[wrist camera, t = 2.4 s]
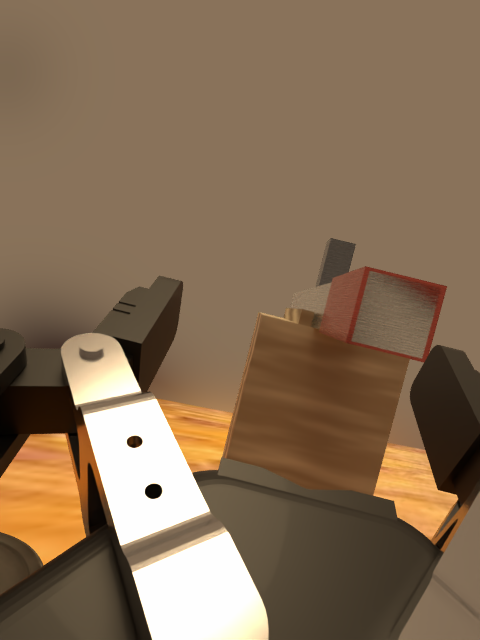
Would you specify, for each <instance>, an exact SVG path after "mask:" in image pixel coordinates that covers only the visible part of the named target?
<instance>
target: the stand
mask: <svg viewBox="0 0 480 640" xmlns="http://www.w3.org/2000/svg"><path fill="white" fill-rule="evenodd" d="M314 313H315V312H312V311H308V310H304V309H294V308H286V310H285V314H284V318H281V317H277V316H272V315H269V314H265V313H260V312H259V313H258V317H257V320H256V324H255V329H254V332H253V337H252V341H251V345H250V349H249V352H248V357H247V360H246V364H245V368H244V372H243V376H242V380H241V385H240V388H239V393H238V396H237V401H236V404H235V408H234V412H233V416H232V420H231V424H230V428H229V432H228V436H227V440H226V444H225V448H224V452H223V456H222V457H223V458H227V459H231V460H235V461H239V462H243V463H247V464H250V465H254V466H258V467H262V468H265V469H267V470H269V471H271V472H273V473H275V474H277V475H279V476H281V477H283V478H285V479H287V480H289V481H291V482H293V483H295V484H297V485H299V486H301V487H303V488H306V489H312V490H352V491H356V492H360V493H364V494H368V495H372V496H373V494H374V490H375V487H376V483H377V479H378V476H379V472H380V468H381V464H382V461H383V457H384V453H385V449H386V446H387V441H388V438H389V434H390V431H391V427H392V423H393V419H394V416H395V412H396V408H397V405H398V401H399V397H400V393H401V389H402V386H403V382H404V378H405V375H406V371H407V367H408V363H409V360H410V359H409V358H405V357H401V356H397V355H393V354H388V353H384V352H380V351H376V350H372V349H368V348H364V347H360V346H356V345H352V344H348V343H345V342H342V341H340V340H337V339H335V338H332V337H330V336H327V335H325V334H322V333H320V332H319V329H316V328H313V327H311V324H312V320H313V317H314Z"/></svg>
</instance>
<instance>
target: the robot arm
mask: <svg viewBox="0 0 480 640" xmlns="http://www.w3.org/2000/svg"><path fill="white" fill-rule="evenodd" d="M182 290H183V282H182V281H179V280H175V279H171V278H166V277H163V276H159V277H158V278H157V279H156V280H155V282H154V283H153V284H152V286H151V287H150V288H149V289H147V288H143V287H138V288H135V289H133V290H131V291H129V292H127V293H126V294H125V295H124V296H123V297H122V298H121V300H120V301H119V303H118V304H116V305H115V307H114V308H113V310H111V311H110V312H109V314H108V315H107V316H106V317H105V318H104V320H103V321H102V322H101V323H100V324H99V325H98V327H97V328H96V329H95V330H94V331H93V332H92V333H87V334H81V335H77V336H75V337H72V338H70V339H69V340H68V341H66V342H65V343H64V344H63V346H62V348H61V349H34V348H33V349H32V348H26V347H25V340H24V338H23V337H22V336H21V335H20V334H19V333H17V332H15V331H12V330H9V329H1V328H0V478H1V476H2V475H3V473H4V472H5V470H6V469H7V467H8V466H9V464H10V463H11V462H12V460H13V459H14V457H15V456H16V454H17V453H18V451H19V450H20V449H21V447H22V446H23V444H24V443H25V441H26V440H27V438H28V437H29V436H30V434H53V433H65V435H66V439H67V443H68V447H69V452H70V456H71V460H72V465H73V469H74V473H75V477H76V482H77V486H78V491H79V496H80V503H81V511H82V518H83V523H84V529H85V533H86V538H84V539H83V540H81V541H80V542H78V543H77V544H75V545H74V546H72V547H71V548H69V549H68V550H66V551H65V552H63V553H62V554H60V555H59V556H57V557H56V558H54V559H53V560H51V561H50V562H48V563H47V564H45V565H44V566H42V567H41V568H39V569H38V570H36V571H35V572H33V573H32V574H30V575H29V576H27V577H26V578H25V579H23V580H22V581H20V582H19V583H17V584H16V585H14V586H13V587H11V588H10V589H8V590H7V591H5V592H4V593H2V594H1V595H0V640H480V373H479V372H478V371H476V370H474V368H473V366H472V364H471V363H470V361H469V359H468V358H467V355H466V354H465V352H463V351H461V350H457V349H453V348H449V347H445V346H441V345H437V346H435V347H434V348H433V349H432V350H431V351H430V353H429V355H428V357H427V359H426V360H425V362H424V364H423V366H422V368H421V370H420V371H419V373H418V375H417V377H416V378H415V380H414V382H413V384H412V387H411V391H410V401H411V405H412V408H413V411H414V415H415V418H416V421H417V424H418V428H419V431H420V434H421V437H422V440H423V443H424V447H425V450H426V453H427V457H428V460H429V463H430V466H431V469H432V473H433V476H434V479H435V482H436V485H437V489H438V490H440V491H444V492H448V493H452V494H456V495H457V496H458V500H457V502H456V503H455V504H454V505H453V507H452V508H451V509H450V511H449V513H448V514H447V516H446V517H445V519H444V521H443V522H442V524H441V525H440V527H439V528H438V530H437V532H436V533H435V535H434V536H433V538H432V540H431V541H430V540H429V539H428V538H427V537H426V536H425V535H423V534H422V533H421V532H420V531H418V530H417V529H416V528H414V527H413V526H411V525H410V524H408V523H406V522H405V521H403V520H401V519H400V518H398V517H397V514H396V509H395V504H394V501H391V500H387V499H383V498H380V497H376V496H372V495H368V494H364V493H360V492H356V491H352V490H312V489H306V488H303V487H301V486H299V485H297V484H295V483H293V482H291V481H289V480H287V479H285V478H283V477H281V476H279V475H277V474H275V473H273V472H271V471H269V470H267V469H265V468H262V467H258V466H254V465H250V464H247V463H243V462H239V461H235V460H231V459H227V458H223V457H222V458H221V461H220V465H219V469H218V470H207V471H199V472H194V473H191V471H190V469H189V467H188V465H187V463H186V461H185V459H184V456H183V454H182V452H181V450H180V448H179V446H178V444H177V442H176V440H175V438H174V436H173V433H172V431H171V429H170V427H169V425H168V423H167V421H166V419H165V417H164V415H163V413H162V411H161V408H160V406H159V404H158V402H157V400H156V398H155V396H154V395H153V394H152V393H151V392H147V390H148V388H149V387H150V385H151V383H152V380H153V379H154V377H155V375H156V373H157V371H158V369H159V367H160V365H161V363H162V361H163V359H164V358H165V356H166V354H167V352H168V350H169V348H170V346H171V344H172V342H173V340H174V337H175V334H176V331H177V326H178V320H179V312H180V305H181V297H182Z"/></svg>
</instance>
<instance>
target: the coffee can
mask: <svg viewBox="0 0 480 640" xmlns="http://www.w3.org/2000/svg"><path fill="white" fill-rule="evenodd" d="M42 566H43V563H42V561H41V559H40V557H39V556H38V555H37V553H36V552H35V551H34V550H33V549H32V548H31V547H30V546H29V545H27V544H26V543H24V542H23V541H21V540H19V539H17V538H15V537H13V536H10V535H7V534H4V533H1V532H0V595H1V594H2V593H4V592H5V591H7V590H8V589H10V588H11V587H13V586H14V585H16V584H17V583H19V582H20V581H22V580H23V579H25V578H26V577H27V576H29V575H30V574H32V573H33V572H35V571H36V570H38V569H39V568H41V567H42Z"/></svg>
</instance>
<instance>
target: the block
mask: <svg viewBox="0 0 480 640" xmlns="http://www.w3.org/2000/svg"><path fill="white" fill-rule="evenodd" d="M354 249H355V244H353V243H349V242H345V241H340V240H336V239H332V238H331V239H329V240H328V241H327V244H326V248H325V252H324V256H323V260H322V264H321V268H320V272H319V275H318V279H317V283H316V287H315V288H311V289H308V290H305V291H301V292H298V293H295V294H294V296H293V300H292V304H291V308H294V309H304V310H308V311H312V312H315V313H314V317H313V320H312V324H311V327H313V328H316V329H319V332H320V333H322V334H325V335H327V336H330V337H332V338H335V339H337V340H340V341H342V342H345V343H348V344H352V345H356V346H360V347H364V348H368V349H372V350H376V351H380V352H384V353H388V354H393V355H397V356H401V357H405V358H409V359H413V360H417V361H421V362H425V360H426V359H427V357H428V355H429V351H430V347H431V344H432V340H433V336H434V333H435V329H436V325H437V321H438V318H439V314H440V310H441V307H442V303H443V299H444V295H445V292H446V288H447V286H443V285H439V284H435V283H431V282H427V281H423V280H419V279H415V278H411V277H407V276H402V275H398V274H394V273H390V272H386V271H382V270H378V269H374V268H370V267H366V266H365V267H362V268H360V269H357V270H354V271H351V272H349V268H350V265H351V261H352V257H353V253H354Z"/></svg>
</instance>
